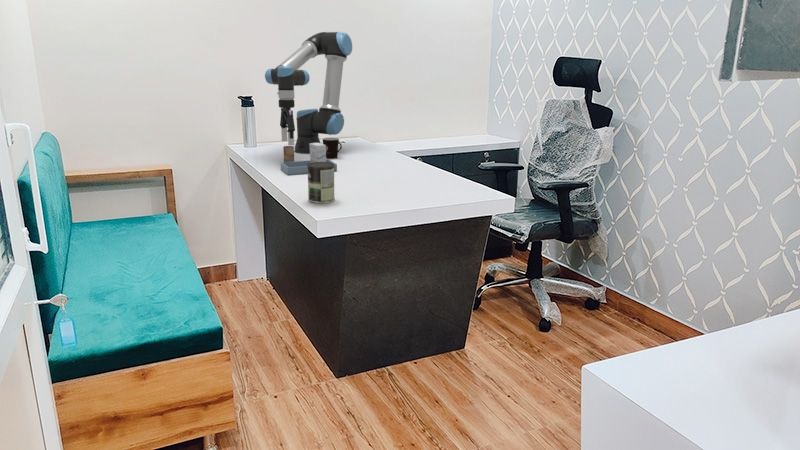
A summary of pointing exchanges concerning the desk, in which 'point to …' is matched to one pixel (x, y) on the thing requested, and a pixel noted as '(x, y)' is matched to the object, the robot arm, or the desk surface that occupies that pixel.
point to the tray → (299, 167)
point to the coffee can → (321, 182)
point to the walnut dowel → (288, 153)
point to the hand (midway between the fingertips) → (287, 143)
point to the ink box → (317, 152)
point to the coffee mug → (331, 147)
